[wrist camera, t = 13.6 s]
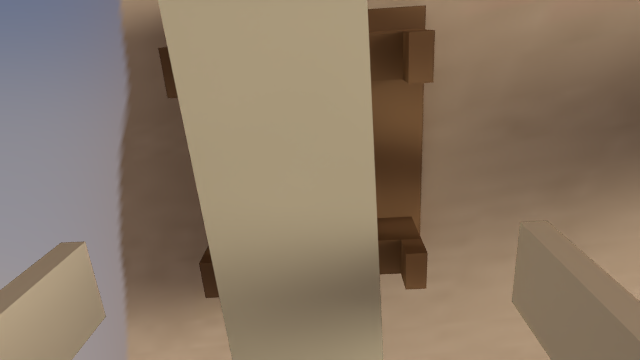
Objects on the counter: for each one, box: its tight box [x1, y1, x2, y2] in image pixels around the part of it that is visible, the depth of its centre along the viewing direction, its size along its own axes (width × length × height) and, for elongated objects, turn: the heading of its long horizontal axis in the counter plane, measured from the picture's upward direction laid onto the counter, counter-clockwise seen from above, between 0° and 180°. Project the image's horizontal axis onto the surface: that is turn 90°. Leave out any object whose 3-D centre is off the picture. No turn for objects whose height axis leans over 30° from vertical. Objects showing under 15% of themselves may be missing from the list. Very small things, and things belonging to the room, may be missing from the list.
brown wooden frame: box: [158, 6, 435, 298], centre depth 21 cm, size 14×12×5 cm
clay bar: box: [158, 0, 383, 360], centre depth 16 cm, size 16×5×8 cm, turn 5°
